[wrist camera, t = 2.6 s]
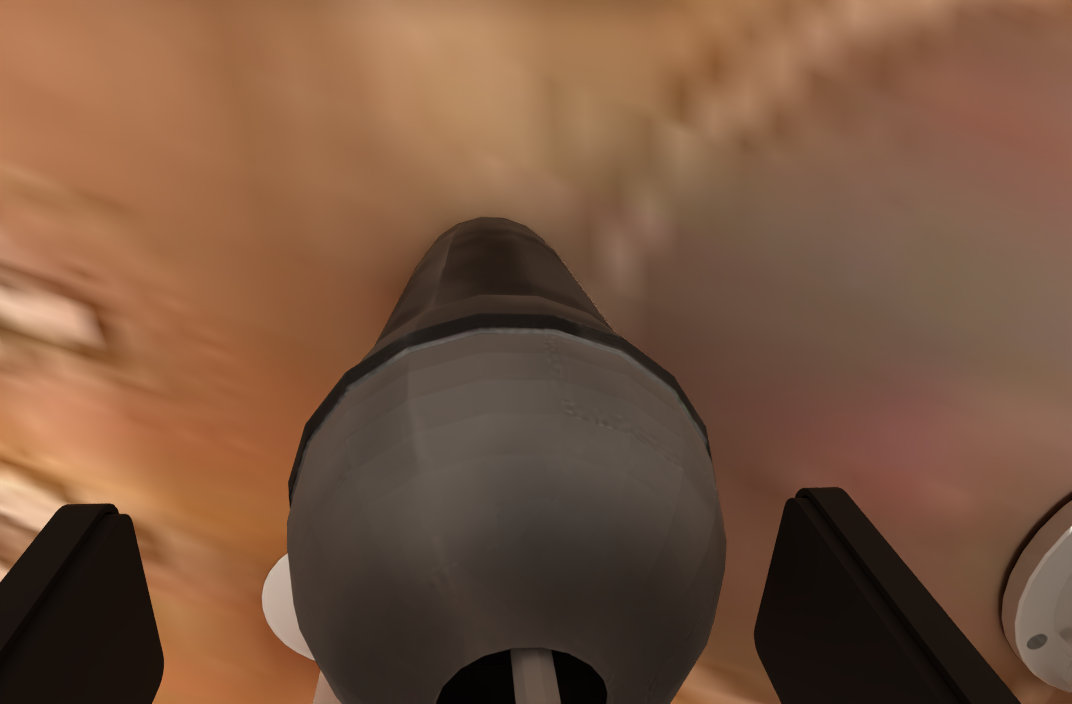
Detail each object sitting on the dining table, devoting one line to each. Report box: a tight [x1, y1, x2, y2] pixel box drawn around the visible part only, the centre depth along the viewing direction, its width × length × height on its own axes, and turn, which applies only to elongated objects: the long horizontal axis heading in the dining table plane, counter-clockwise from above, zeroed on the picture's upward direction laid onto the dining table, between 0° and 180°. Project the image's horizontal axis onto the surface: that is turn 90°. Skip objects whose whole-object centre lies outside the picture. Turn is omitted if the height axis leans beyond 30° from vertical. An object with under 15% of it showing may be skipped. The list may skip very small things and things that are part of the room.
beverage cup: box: [287, 217, 726, 704], centre depth 14 cm, size 7×7×20 cm
